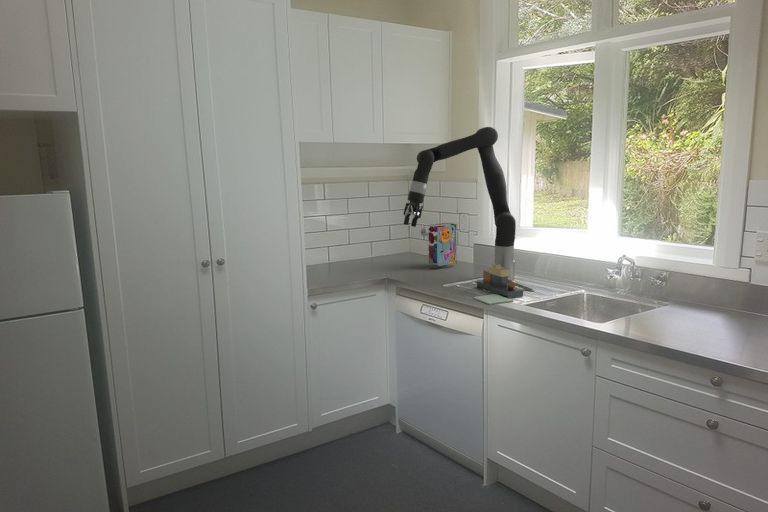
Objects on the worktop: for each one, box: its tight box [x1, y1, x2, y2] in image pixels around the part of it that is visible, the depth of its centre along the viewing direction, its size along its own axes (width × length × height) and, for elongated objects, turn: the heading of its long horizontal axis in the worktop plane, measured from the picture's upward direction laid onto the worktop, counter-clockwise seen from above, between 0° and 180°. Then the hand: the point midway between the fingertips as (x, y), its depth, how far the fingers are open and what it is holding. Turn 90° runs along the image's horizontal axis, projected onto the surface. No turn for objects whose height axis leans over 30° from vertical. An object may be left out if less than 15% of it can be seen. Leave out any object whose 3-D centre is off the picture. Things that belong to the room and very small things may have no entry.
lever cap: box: [488, 263, 510, 277], centre depth 250 cm, size 5×9×4 cm, turn 24°
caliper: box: [507, 279, 536, 292], centre depth 258 cm, size 20×1×6 cm, turn 47°
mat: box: [472, 293, 514, 306], centre depth 237 cm, size 12×12×1 cm
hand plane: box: [476, 269, 524, 299], centre depth 251 cm, size 8×24×8 cm, turn 24°
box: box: [420, 222, 458, 270], centre depth 304 cm, size 25×6×24 cm, turn 129°
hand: (409, 225), depth 263 cm, fingers open, 8 cm apart
